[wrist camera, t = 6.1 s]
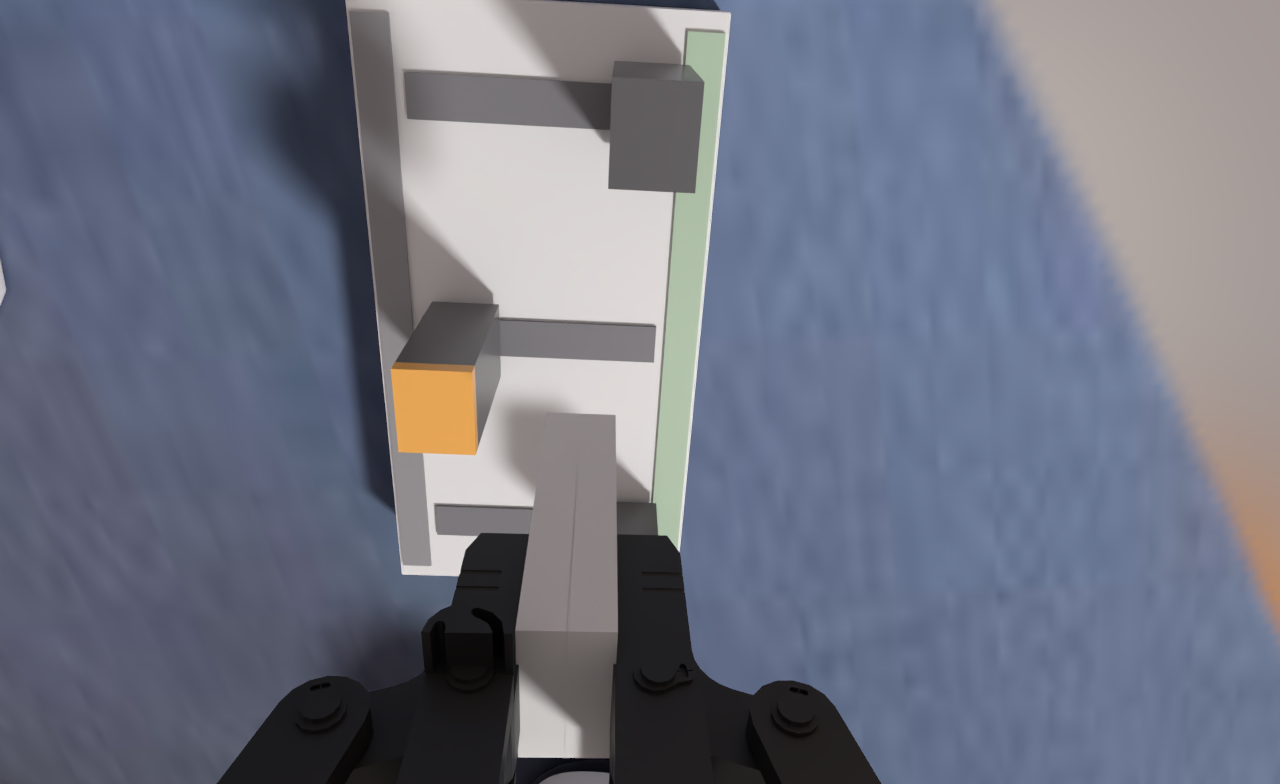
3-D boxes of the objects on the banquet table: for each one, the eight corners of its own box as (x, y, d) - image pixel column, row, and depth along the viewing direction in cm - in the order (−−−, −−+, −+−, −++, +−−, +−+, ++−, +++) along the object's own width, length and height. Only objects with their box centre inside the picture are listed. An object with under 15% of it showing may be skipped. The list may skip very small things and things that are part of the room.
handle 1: (614, 60, 21) (612, 77, 17) (690, 64, 21) (704, 81, 17) (610, 154, 22) (608, 189, 18) (682, 157, 22) (695, 193, 18)
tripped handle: (432, 301, 24) (390, 368, 20) (498, 304, 24) (472, 372, 20) (436, 373, 25) (398, 452, 21) (500, 376, 25) (475, 455, 21)
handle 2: (597, 501, 27) (593, 586, 24) (656, 503, 28) (661, 588, 24) (595, 557, 29) (591, 647, 25) (651, 559, 29) (656, 649, 25)
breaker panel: (371, -11, 23) (342, -11, 21) (720, 10, 23) (731, 13, 21) (417, 532, 31) (401, 576, 29) (673, 541, 32) (676, 584, 29)
